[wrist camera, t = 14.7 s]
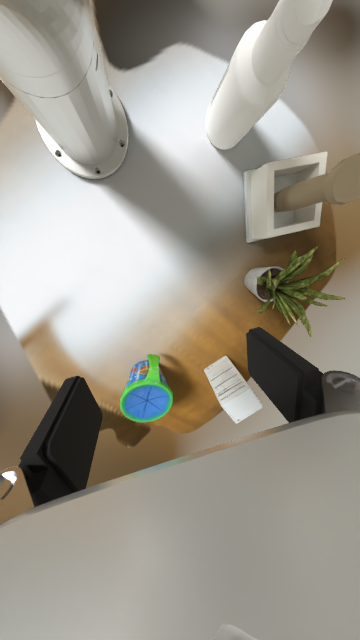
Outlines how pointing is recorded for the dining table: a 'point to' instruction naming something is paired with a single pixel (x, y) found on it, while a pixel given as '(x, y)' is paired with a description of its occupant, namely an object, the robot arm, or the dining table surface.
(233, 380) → the supplement box
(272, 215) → the box
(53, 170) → the dining table surface
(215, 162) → the dining table surface
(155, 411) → the snack cup
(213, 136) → the spray bottle
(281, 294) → the house plant
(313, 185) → the handle
